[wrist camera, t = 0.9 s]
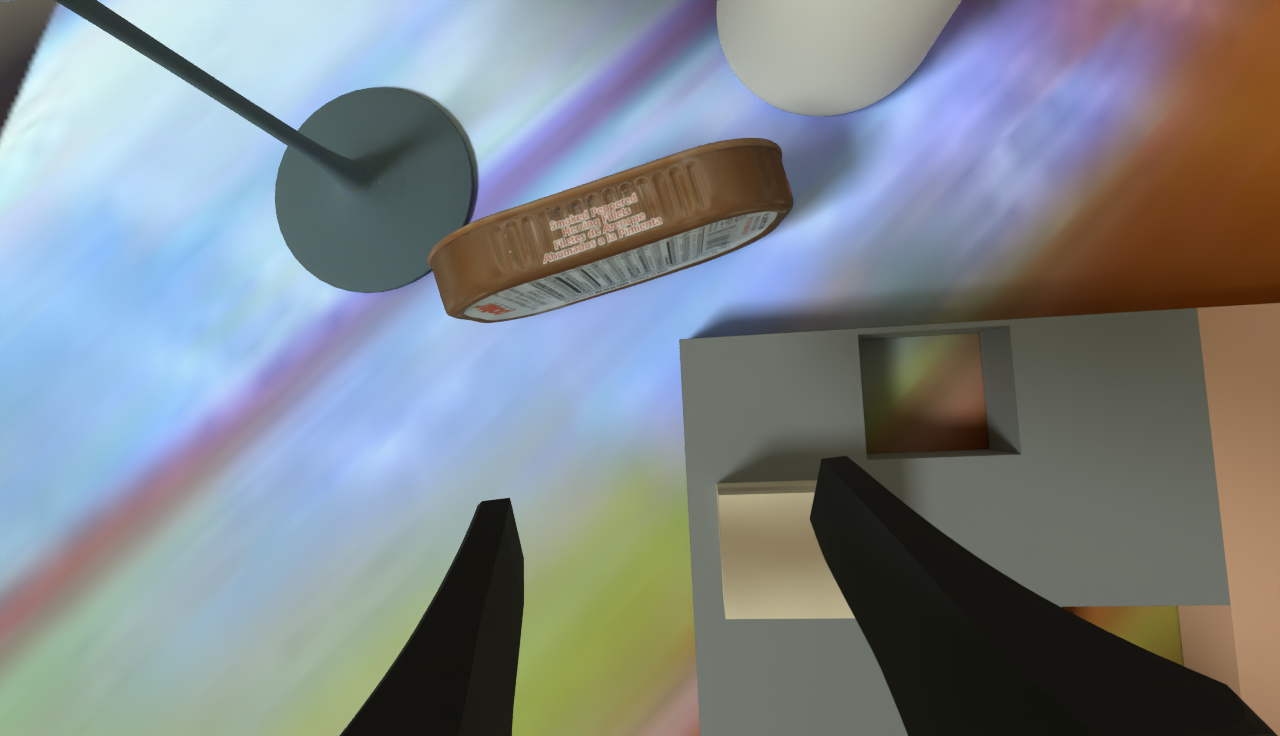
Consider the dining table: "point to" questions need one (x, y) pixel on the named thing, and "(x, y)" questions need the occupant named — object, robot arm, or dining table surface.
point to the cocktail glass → (346, 172)
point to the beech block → (774, 554)
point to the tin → (613, 232)
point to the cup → (828, 48)
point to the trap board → (1009, 493)
